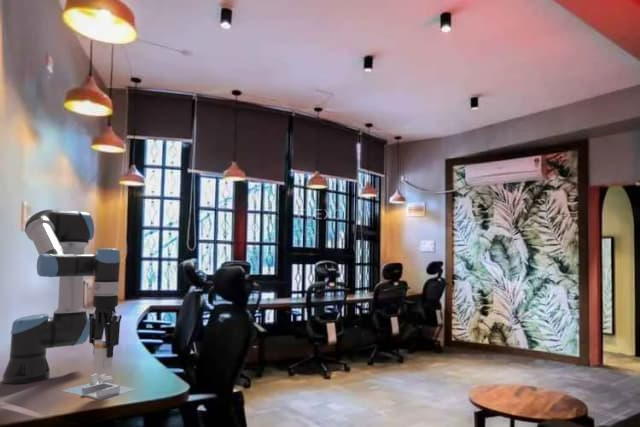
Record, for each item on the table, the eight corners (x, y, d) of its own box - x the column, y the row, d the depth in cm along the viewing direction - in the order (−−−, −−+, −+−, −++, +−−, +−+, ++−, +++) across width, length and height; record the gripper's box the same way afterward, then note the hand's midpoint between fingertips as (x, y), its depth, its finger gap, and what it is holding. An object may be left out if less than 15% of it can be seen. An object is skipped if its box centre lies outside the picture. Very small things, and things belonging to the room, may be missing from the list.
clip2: (101, 386, 162) (101, 377, 163) (110, 385, 164) (111, 376, 164) (102, 389, 159) (103, 379, 159) (112, 388, 160) (112, 378, 161)
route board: (60, 394, 157) (60, 390, 157) (97, 384, 169) (97, 381, 170) (99, 403, 148) (100, 399, 148) (136, 392, 160) (136, 389, 160)
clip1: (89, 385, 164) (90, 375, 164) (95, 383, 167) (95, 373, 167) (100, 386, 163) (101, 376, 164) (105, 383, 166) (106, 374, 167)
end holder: (81, 395, 152) (82, 387, 152) (103, 389, 159) (103, 382, 159) (98, 399, 148) (98, 391, 149) (119, 393, 155) (119, 385, 156)
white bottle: (92, 371, 153) (94, 340, 154) (103, 368, 157) (105, 338, 158) (101, 372, 152) (102, 341, 152) (112, 370, 155) (113, 339, 156)
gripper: (79, 294, 157) (75, 365, 155) (113, 296, 149) (110, 372, 147) (99, 293, 164) (95, 361, 162) (133, 295, 156) (129, 367, 154)
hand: (102, 366), depth 154 cm, fingers closed on white bottle, 4 cm apart
